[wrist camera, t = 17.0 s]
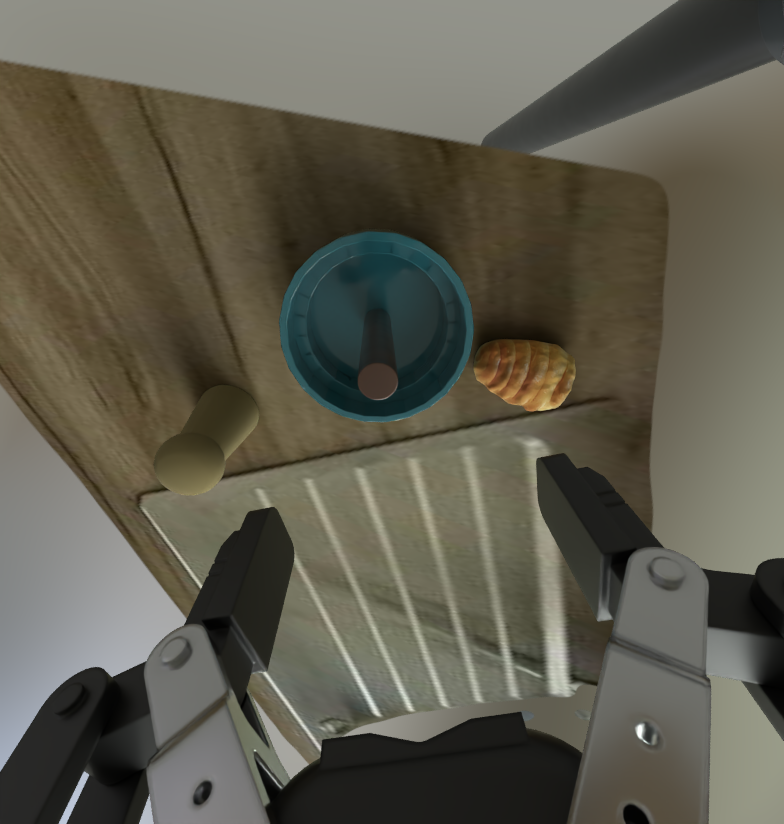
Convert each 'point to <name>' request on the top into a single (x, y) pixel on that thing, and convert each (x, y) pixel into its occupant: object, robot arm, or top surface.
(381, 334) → the stirring stick
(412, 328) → the bowl
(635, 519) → the robot arm
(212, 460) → the cork
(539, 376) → the pastry
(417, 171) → the top surface
